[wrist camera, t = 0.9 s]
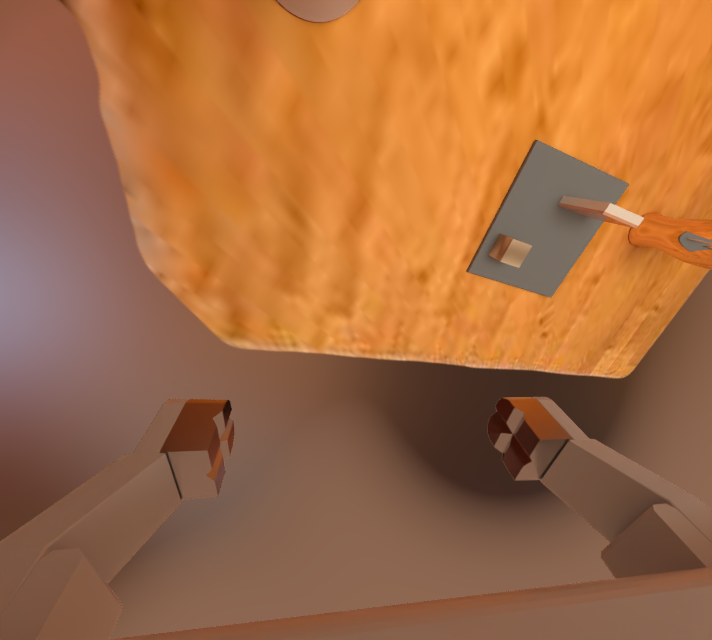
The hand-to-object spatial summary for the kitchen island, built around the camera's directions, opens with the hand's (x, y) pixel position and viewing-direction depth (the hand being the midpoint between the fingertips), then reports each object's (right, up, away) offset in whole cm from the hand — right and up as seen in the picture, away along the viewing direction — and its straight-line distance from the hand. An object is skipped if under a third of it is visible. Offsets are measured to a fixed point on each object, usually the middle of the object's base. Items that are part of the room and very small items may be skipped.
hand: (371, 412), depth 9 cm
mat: (+33, +19, +43) cm, 58 cm away
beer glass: (+54, +20, +46) cm, 73 cm away
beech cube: (+26, +16, +43) cm, 53 cm away
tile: (+38, +22, +41) cm, 60 cm away
